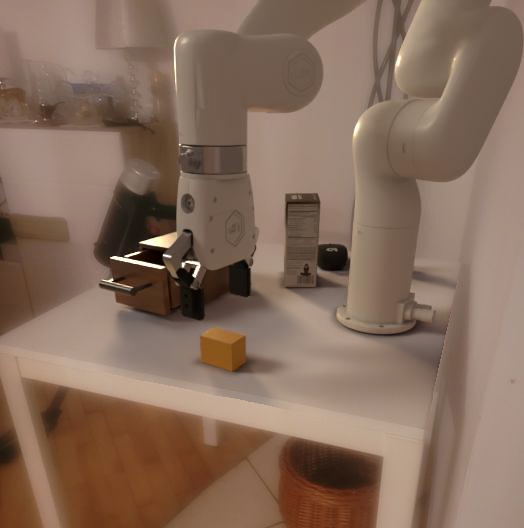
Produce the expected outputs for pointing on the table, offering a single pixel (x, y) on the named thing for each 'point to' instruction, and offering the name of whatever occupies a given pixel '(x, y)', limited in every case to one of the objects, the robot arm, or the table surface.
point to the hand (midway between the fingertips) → (217, 305)
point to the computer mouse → (332, 256)
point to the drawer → (143, 282)
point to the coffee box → (301, 239)
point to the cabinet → (212, 280)
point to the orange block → (223, 348)
